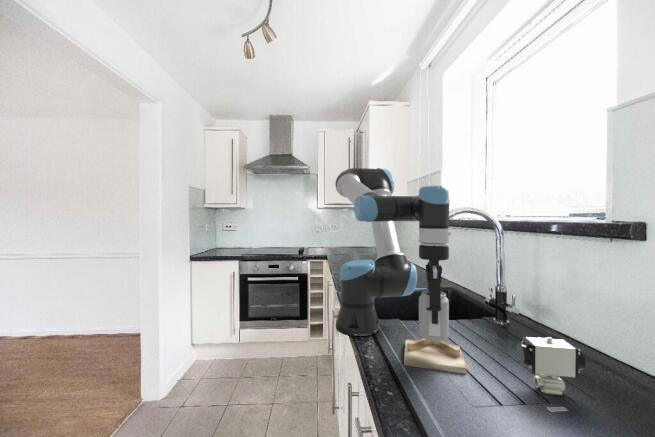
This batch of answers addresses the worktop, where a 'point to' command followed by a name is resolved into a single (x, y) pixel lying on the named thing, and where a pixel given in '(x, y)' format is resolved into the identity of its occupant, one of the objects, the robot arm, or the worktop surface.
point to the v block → (434, 356)
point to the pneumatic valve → (550, 362)
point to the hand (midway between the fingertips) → (433, 329)
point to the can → (424, 317)
